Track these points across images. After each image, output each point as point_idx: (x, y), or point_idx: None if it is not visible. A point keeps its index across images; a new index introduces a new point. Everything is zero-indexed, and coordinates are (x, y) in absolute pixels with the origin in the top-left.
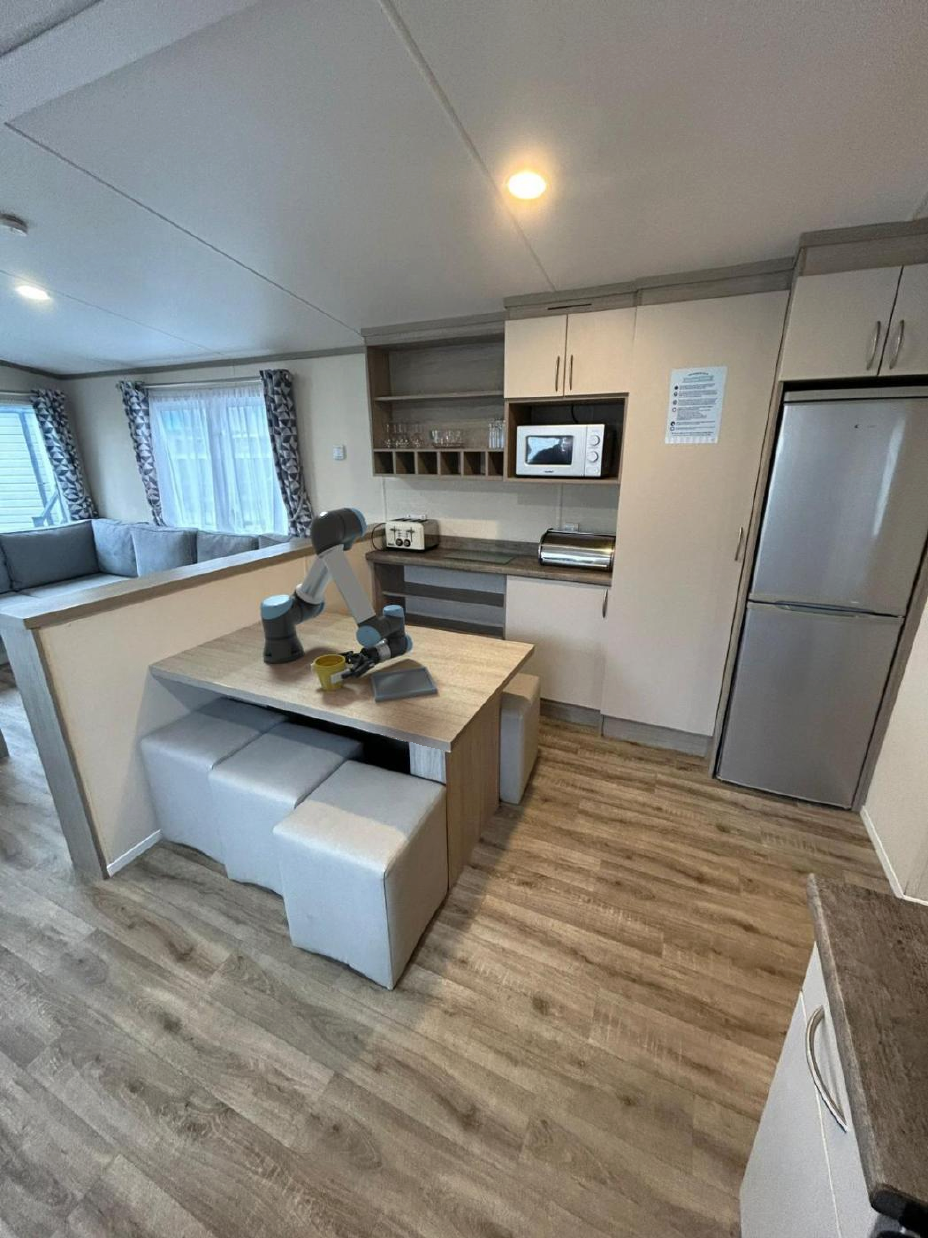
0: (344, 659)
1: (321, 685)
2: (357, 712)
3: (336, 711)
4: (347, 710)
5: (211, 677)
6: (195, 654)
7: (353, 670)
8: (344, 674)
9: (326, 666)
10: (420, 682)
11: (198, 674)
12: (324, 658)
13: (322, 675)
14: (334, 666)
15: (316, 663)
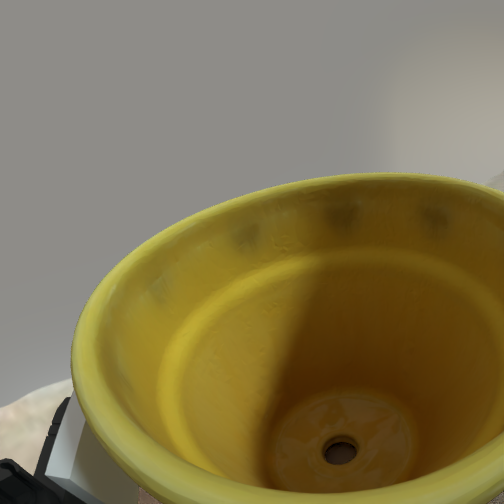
0: (153, 472)
1: (333, 375)
2: (6, 423)
3: (70, 384)
4: (39, 411)
5: (490, 183)
6: None
7: (13, 501)
8: (63, 415)
9: (469, 329)
10: None
11: (499, 176)
12: (498, 232)
13: (250, 299)
14: (108, 280)
15: (395, 211)
